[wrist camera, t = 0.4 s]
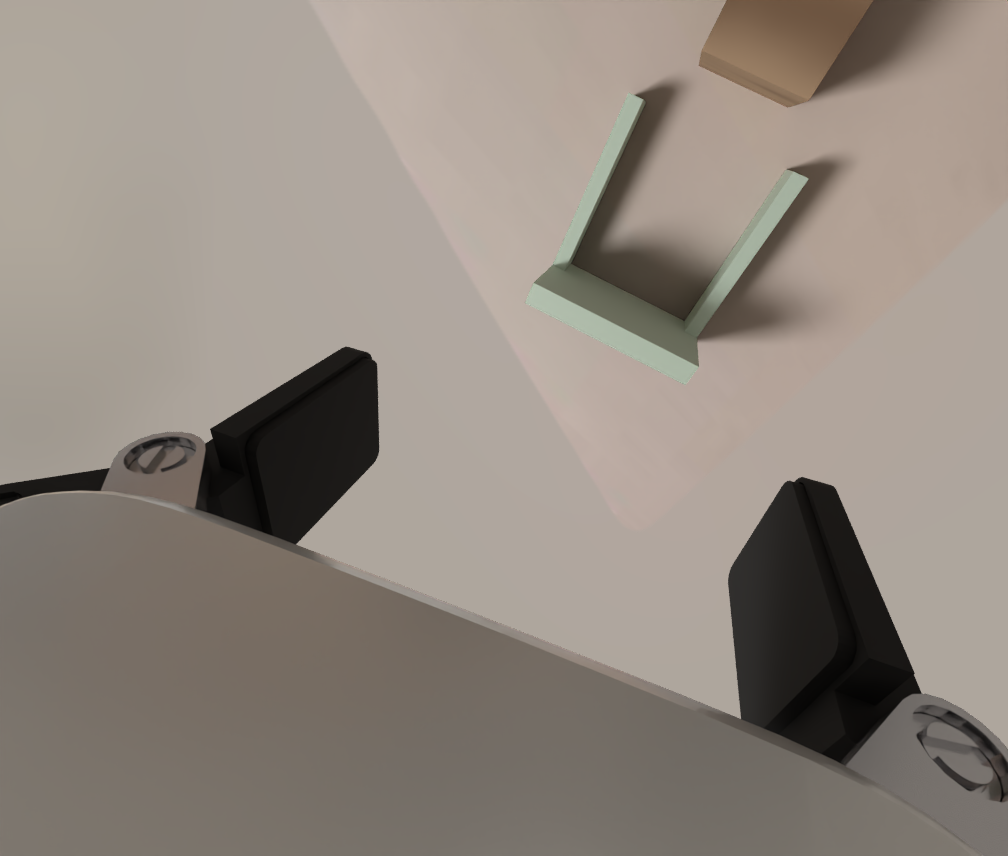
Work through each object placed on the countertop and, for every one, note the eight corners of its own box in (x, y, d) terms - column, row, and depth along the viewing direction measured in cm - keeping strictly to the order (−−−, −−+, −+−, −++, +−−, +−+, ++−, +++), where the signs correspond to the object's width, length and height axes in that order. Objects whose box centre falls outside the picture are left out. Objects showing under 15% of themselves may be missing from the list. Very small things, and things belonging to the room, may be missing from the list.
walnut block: (764, -66, 25) (784, -115, 20) (866, -20, 25) (911, -59, 20) (698, 65, 29) (701, 50, 24) (787, 107, 28) (808, 100, 24)
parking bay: (632, 96, 30) (618, 83, 24) (800, 176, 30) (832, 185, 23) (552, 275, 38) (524, 303, 31) (684, 342, 37) (685, 385, 31)
